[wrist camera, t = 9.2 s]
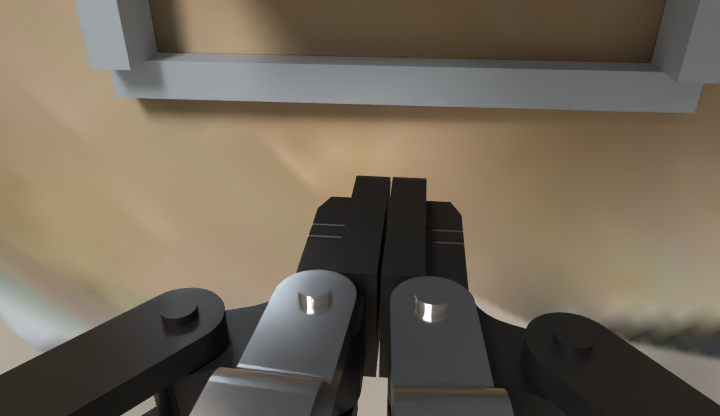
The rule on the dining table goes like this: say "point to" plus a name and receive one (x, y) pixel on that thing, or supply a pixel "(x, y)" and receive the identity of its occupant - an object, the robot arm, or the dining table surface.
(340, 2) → the dining table surface
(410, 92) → the vise body
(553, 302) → the dining table surface
